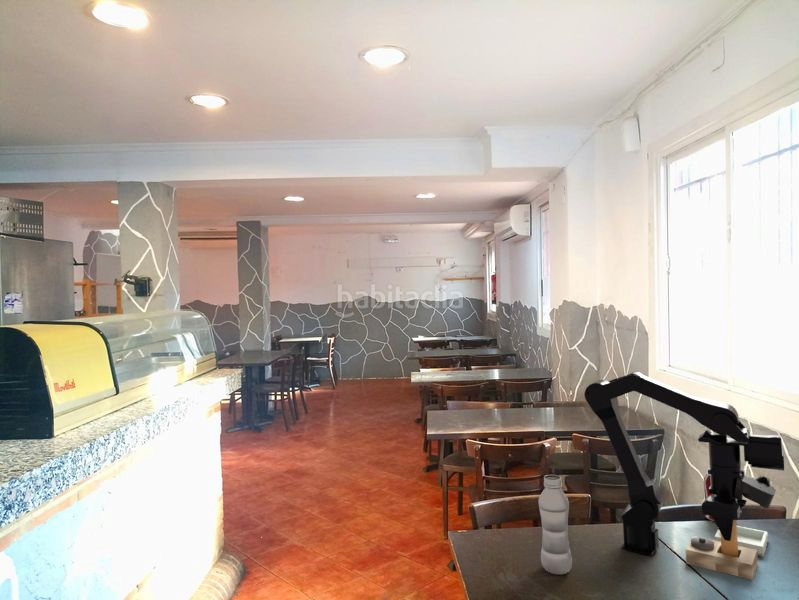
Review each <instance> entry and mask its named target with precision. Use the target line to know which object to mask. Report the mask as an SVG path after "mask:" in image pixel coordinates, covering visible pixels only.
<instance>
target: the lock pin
mask: <svg viewBox="0 0 799 600" xmlns="http://www.w3.org/2000/svg"><path fill="white" fill-rule="evenodd" d="M737 524H738V523H737V520H734V523H733V529H732V535H731V540H730V541H727V540H724V538H723V536H722V534H721V551H722V554H725V555H729V556H733V557H738V542H737V526H738V525H737Z"/></svg>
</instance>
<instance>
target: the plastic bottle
mask: <svg viewBox="0 0 799 600" xmlns="http://www.w3.org/2000/svg"><path fill="white" fill-rule="evenodd" d="M543 486H544V489H543V490H542V492H541V494H540V495H539V497H538V502H537V503H538V507H539V508H538V509H539V513H540V520H541V527H542V528H541V529H542V539H541V540H542V543H541V552H540V561H541V566H542V567H543V568H544V570H545V571H546V572H547V571H548V572H547V573H549V572H550V573H549V574H553V575H558V576H559V575H566V574H568V573H569V572H570V570H571V569H572V565H573V564H572V563H573V558H572V553H571V549H570V542H569V534H568V531H569V530H568V529H569V528H568V527H569V526H568V524H569V523H568V521H569V509H570V502H569V500H568V496H567V495H566V494H565V492H564V491H563V489H562V487H563V483H562V477H561V476H560V475H557V474H547V475H544V476H543ZM567 572H568V573H567Z"/></svg>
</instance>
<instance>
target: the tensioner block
mask: <svg viewBox="0 0 799 600" xmlns="http://www.w3.org/2000/svg"><path fill="white" fill-rule="evenodd" d="M758 562H759V561H758V556H757V550H755V549H750V548H746V547H741V546H738V557H733V556H729V555H725V554H722V551H721V542H719V541H715V539H710V538H709V539H708V538H705V537H700V536H696V535H693V537H692V538H691V539H690V542H688V545H687V546H686V548H685V564H687V565H692V566H695V567H700V568H704V569H708V570H712V571H716V572H719V573H724V574H728V575H731V576H736V577H739V578H743V579H746V580H752V581H754V577H755V575H756V571H757V568H758V565H759V563H758Z"/></svg>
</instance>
